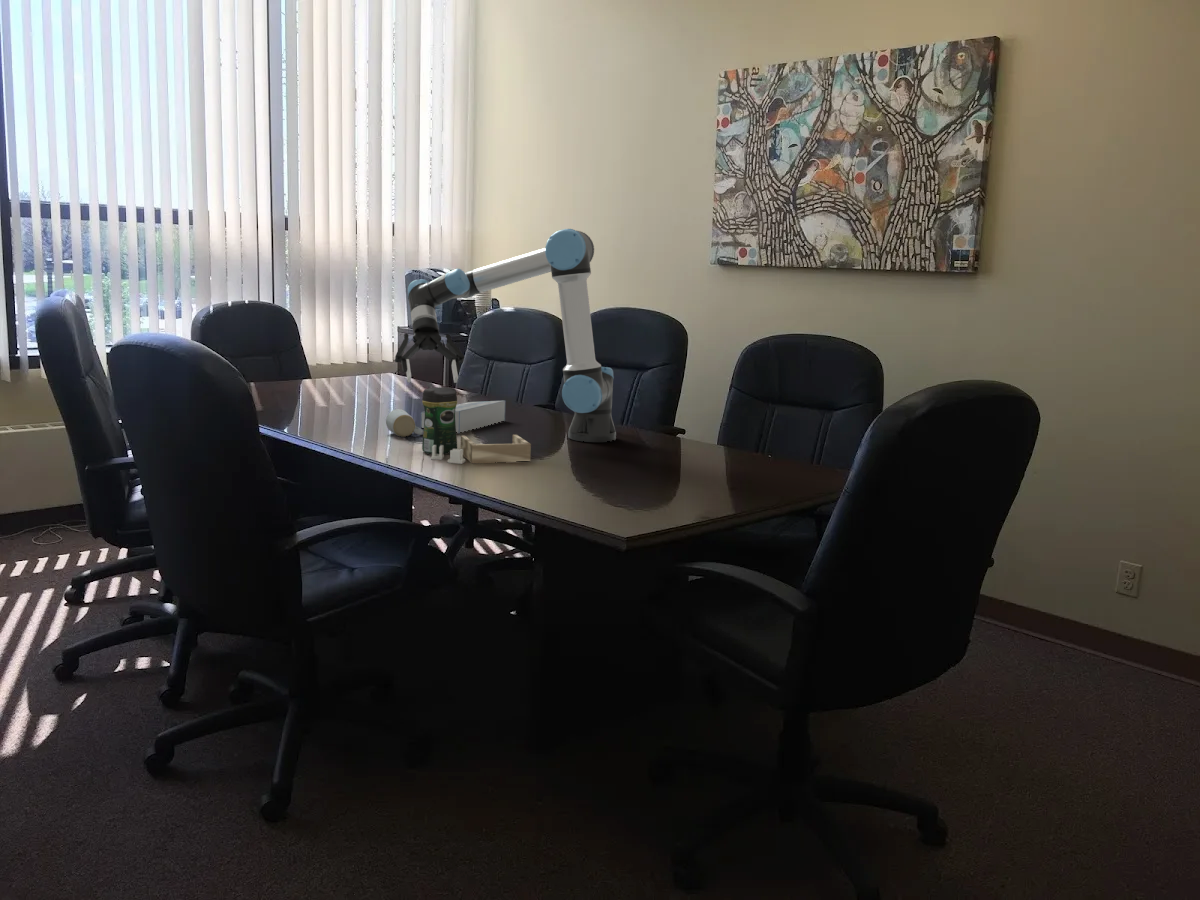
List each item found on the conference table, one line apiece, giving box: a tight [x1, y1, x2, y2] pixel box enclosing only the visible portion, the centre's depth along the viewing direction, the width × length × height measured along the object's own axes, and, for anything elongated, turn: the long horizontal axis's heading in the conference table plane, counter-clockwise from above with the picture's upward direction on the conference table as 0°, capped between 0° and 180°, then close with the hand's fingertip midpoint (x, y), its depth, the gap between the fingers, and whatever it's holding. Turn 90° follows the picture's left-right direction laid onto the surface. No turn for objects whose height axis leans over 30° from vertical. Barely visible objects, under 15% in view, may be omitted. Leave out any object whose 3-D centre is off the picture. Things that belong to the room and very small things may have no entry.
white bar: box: [420, 400, 507, 434], centre depth 321 cm, size 30×14×8 cm, turn 157°
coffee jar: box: [421, 386, 458, 455], centre depth 272 cm, size 10×8×19 cm
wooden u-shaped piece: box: [460, 434, 532, 464], centre depth 270 cm, size 15×16×5 cm
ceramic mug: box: [385, 408, 424, 438], centre depth 297 cm, size 11×8×8 cm
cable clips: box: [430, 445, 466, 465], centre depth 264 cm, size 5×12×3 cm, turn 57°
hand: (433, 380), depth 280 cm, fingers open, 13 cm apart
